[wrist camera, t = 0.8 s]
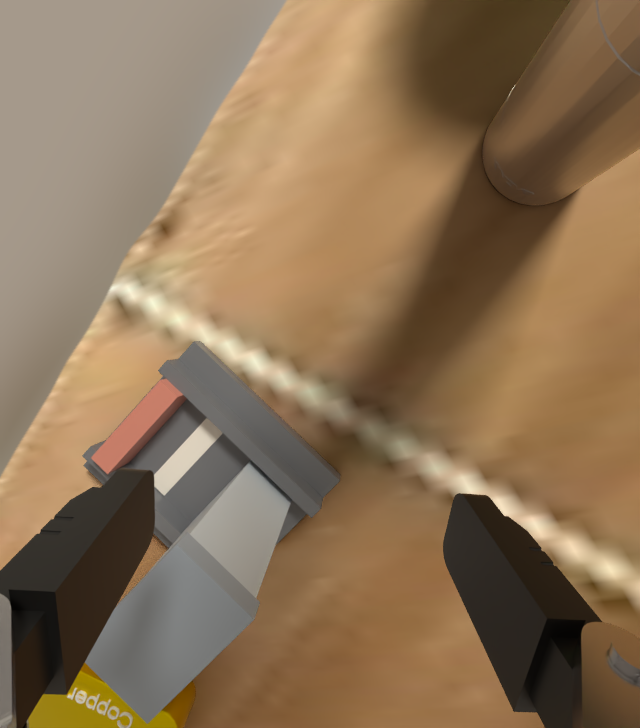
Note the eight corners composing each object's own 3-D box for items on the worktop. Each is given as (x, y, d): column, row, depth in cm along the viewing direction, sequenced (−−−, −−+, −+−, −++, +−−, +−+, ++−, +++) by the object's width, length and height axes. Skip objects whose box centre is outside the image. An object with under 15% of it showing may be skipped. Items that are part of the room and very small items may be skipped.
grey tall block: (252, 455, 32) (176, 544, 18) (295, 497, 32) (254, 619, 18) (191, 519, 33) (73, 651, 19) (233, 559, 33) (147, 724, 19)
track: (200, 341, 34) (178, 341, 29) (340, 474, 33) (339, 495, 29) (94, 460, 35) (57, 477, 31) (226, 588, 35) (209, 624, 30)
